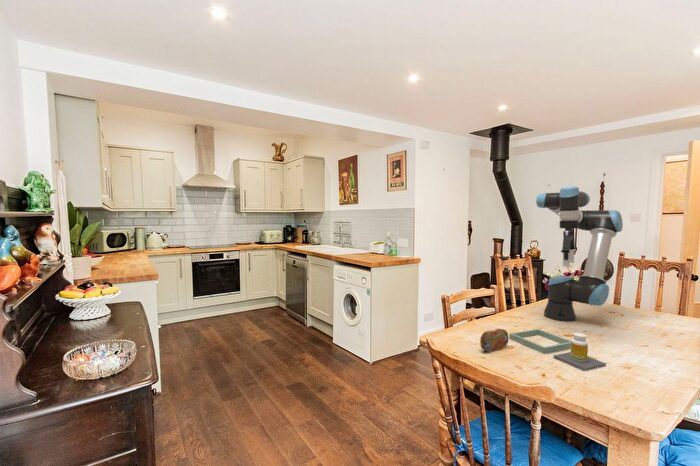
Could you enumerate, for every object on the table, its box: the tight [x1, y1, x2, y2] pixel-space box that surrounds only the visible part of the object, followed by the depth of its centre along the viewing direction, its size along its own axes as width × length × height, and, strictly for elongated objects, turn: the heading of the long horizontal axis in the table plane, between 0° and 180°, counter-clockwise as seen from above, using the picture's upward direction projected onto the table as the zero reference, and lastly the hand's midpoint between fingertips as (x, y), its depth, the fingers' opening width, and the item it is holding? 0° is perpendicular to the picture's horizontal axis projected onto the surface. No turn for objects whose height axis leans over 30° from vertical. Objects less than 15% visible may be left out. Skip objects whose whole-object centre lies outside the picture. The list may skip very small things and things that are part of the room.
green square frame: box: [508, 328, 571, 355], centre depth 147 cm, size 18×18×2 cm
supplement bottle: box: [570, 332, 589, 362], centre depth 128 cm, size 5×5×10 cm
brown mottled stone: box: [479, 328, 509, 353], centre depth 140 cm, size 15×3×8 cm, turn 117°
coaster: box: [553, 351, 607, 372], centre depth 128 cm, size 12×12×1 cm
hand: (568, 264), depth 156 cm, fingers open, 13 cm apart
